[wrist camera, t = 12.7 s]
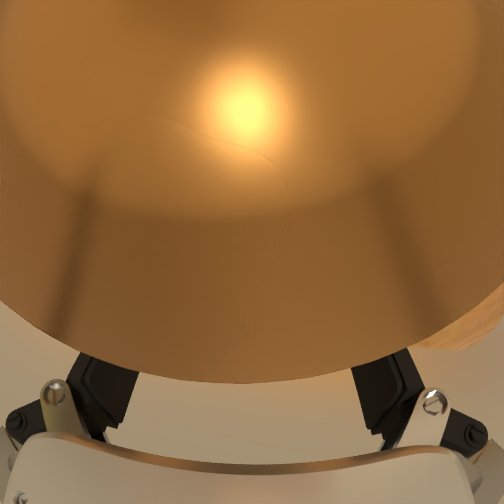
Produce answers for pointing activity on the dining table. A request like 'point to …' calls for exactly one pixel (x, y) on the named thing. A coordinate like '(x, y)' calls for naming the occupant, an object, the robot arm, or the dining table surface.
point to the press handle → (249, 178)
